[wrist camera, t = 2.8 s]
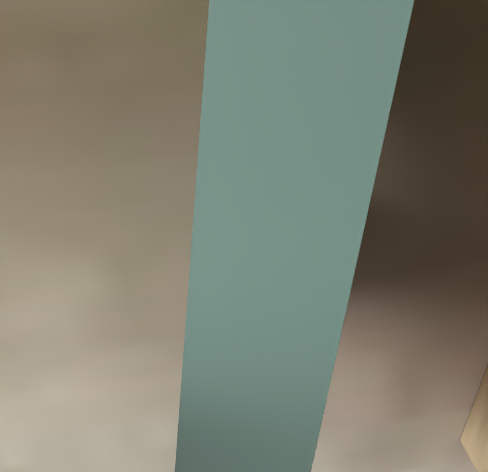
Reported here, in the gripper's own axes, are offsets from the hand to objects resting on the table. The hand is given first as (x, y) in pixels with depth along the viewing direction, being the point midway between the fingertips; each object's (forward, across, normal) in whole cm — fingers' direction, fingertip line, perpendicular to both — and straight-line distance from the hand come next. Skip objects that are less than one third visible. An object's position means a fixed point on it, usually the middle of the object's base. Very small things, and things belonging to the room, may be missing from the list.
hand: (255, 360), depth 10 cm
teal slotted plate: (+8, 0, +5) cm, 10 cm away
